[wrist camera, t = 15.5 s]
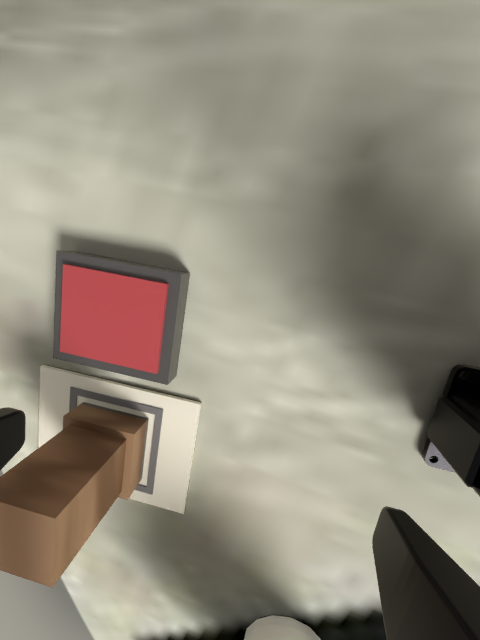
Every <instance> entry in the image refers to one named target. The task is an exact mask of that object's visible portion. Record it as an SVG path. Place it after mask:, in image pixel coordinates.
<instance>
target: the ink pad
mask: <svg viewBox="0 0 480 640" xmlns="http://www.w3.org/2000/svg"><path fill="white" fill-rule="evenodd" d="M189 276H190V273H187V272H182V271H176V270H171V269H166V268H160V267H155V266H149V265H144V264H139V263H133V262H128V261H123V260H117V259H112V258H107V257H101V256H96V255H91V254H85V253H80V252H75V251H57V255H56V286H55V317H54V347H53V358H56V359H60V360H64V361H69V362H73V363H77V364H81V365H86V366H90V367H94V368H98V369H103V370H107V371H111V372H115V373H120V374H124V375H128V376H132V377H137V378H141V379H145V380H149V381H154V382H158V383H162V384H166V385H168V384H169V383H170V382H171V381H172V380H173V379H174V378H175V377H176V374H177V367H178V359H179V352H180V344H181V337H182V329H183V321H184V314H185V306H186V299H187V291H188V284H189Z"/></svg>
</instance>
